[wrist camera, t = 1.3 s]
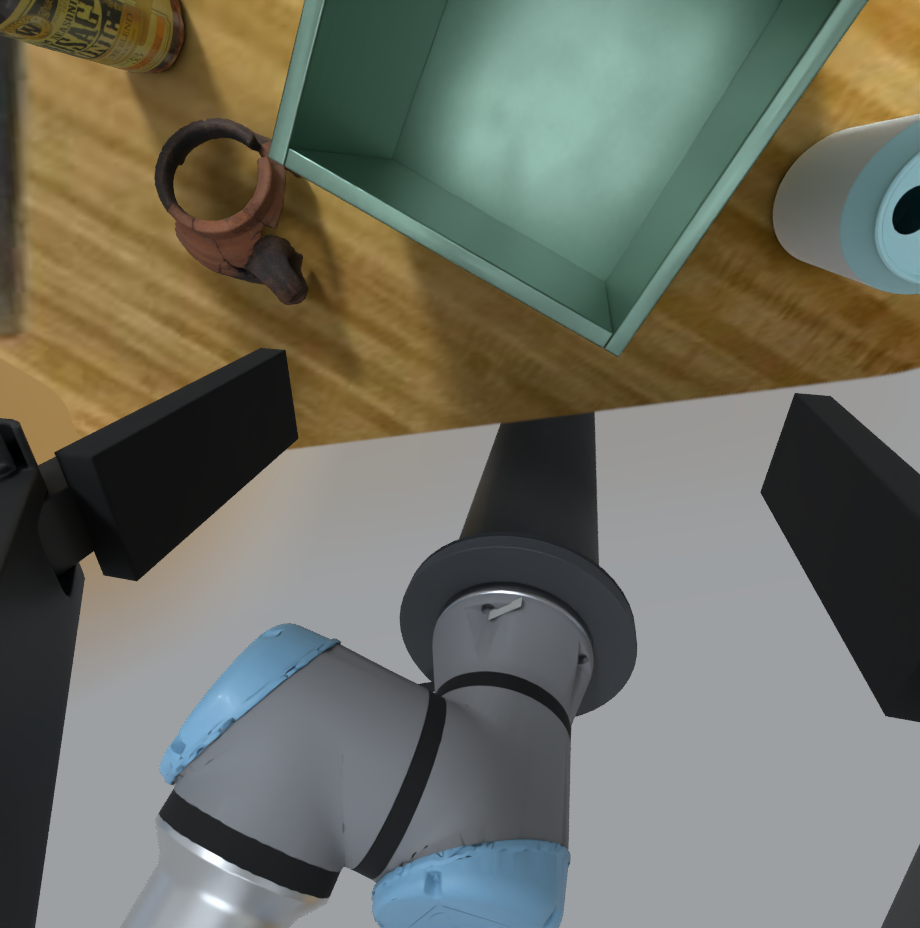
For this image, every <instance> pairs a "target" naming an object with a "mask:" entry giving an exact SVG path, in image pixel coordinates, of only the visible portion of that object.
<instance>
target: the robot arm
mask: <svg viewBox="0 0 920 928" xmlns="http://www.w3.org/2000/svg"><path fill="white" fill-rule="evenodd" d="M297 439H298V433H297V426H296V419H295V412H294V405H293V398H292V391H291V385H290V378H289V371H288V364H287V357H286V350H278V349H266V348H260V349H258V350H256V351H254V352H252V353H250V354H248V355H246V356H244V357H242V358H240V359H238V360H236V361H234V362H232V363H230V364H228V365H226V366H224V367H222V368H220V369H218V370H216V371H214V372H212V373H210V374H208V375H206V376H204V377H202V378H200V379H198V380H196V381H195V382H193V383H191V384H189V385H187V386H185V387H183V388H181V389H179V390H177V391H175V392H173V393H171V394H169V395H167V396H165V397H163V398H161V399H159V400H157V401H155V402H153V403H151V404H149V405H147V406H145V407H143V408H141V409H139V410H137V411H135V412H133V413H131V414H129V415H127V416H125V417H123V418H121V419H119V420H117V421H115V422H113V423H111V424H110V425H108V426H106V427H104V428H102V429H100V430H98V431H96V432H94V433H92V434H90V435H88V436H86V437H84V438H82V439H80V440H78V441H76V442H74V443H72V444H70V445H68V446H66V447H64V448H62V449H60V450H58V451H56V452H55V455H56V457H54V458H52V459H50V460H48V461H46V462H44V463H42V464H40V465H37V463H36V460H35V458H34V456H33V453H32V451H31V449H30V446H29V444H28V441H27V439H26V437H25V434H24V432H23V430H22V427H21V425H20V423H19V422H18V421H15V420H13V419H2V418H0V928H35V923H36V916H37V909H38V902H39V895H40V888H41V881H42V874H43V866H44V860H45V853H46V846H47V839H48V832H49V825H50V818H51V811H52V804H53V797H54V790H55V783H56V776H57V769H58V762H59V755H60V748H61V741H62V734H63V727H64V720H65V713H66V706H67V699H68V692H69V685H70V678H71V671H72V664H73V657H74V650H75V642H76V636H77V628H78V622H79V615H80V607H81V601H82V594H83V587H84V580H85V577H84V574H83V571H82V569H81V566H80V564H79V562H80V561H81V560H82V559H83V558H85V557H86V556H87V555H89V554H90V553H92V552H93V551H94V552H95V555H96V557H97V560H98V562H99V565H100V567H101V570H102V572H103V575H105V576H111V577H116V578H122V579H128V580H133V581H138V580H139V579H140V578H141V577H142V576H143V575H145V574H146V573H147V572H148V571H149V570H150V569H151V568H152V567H154V566H155V565H156V564H157V563H158V562H159V561H160V560H161V559H163V558H164V557H165V556H166V555H167V554H168V553H169V552H171V551H172V550H173V549H174V548H175V547H176V546H177V545H179V544H180V543H181V542H182V541H183V540H184V539H185V538H186V537H188V536H189V535H190V534H191V533H192V532H193V531H194V530H195V529H197V528H198V527H199V526H200V525H201V524H202V523H203V522H204V521H206V520H207V519H208V518H209V517H210V516H211V515H212V514H214V513H215V512H216V511H217V510H218V509H219V508H220V507H221V506H223V505H224V504H225V503H226V502H227V501H228V500H229V499H230V498H232V497H233V496H234V495H235V494H236V493H237V492H238V491H239V490H241V489H242V488H243V487H244V486H245V485H246V484H247V483H249V482H250V481H251V480H252V479H253V478H254V477H255V476H256V475H258V474H259V473H260V472H261V471H262V470H263V469H264V468H266V467H267V466H268V465H269V464H270V463H271V462H272V461H273V460H274V459H276V458H277V457H278V456H279V455H280V454H281V453H282V452H284V451H285V450H286V449H287V448H288V447H289V446H290V445H292V444H293V443H294V442H295V441H296V440H297ZM761 494H762V496H763V498H764V500H765V501H766V503H767V505H768V507H769V509H770V510H771V512H772V513H773V515H774V517H775V519H776V521H777V523H778V525H779V526H780V528H781V530H782V532H783V534H784V535H785V537H786V539H787V541H788V542H789V544H790V546H791V548H792V550H793V551H794V553H795V555H796V557H797V559H798V560H799V562H800V564H801V565H802V568H803V569H804V571H805V573H806V575H807V576H808V578H809V580H810V582H811V583H812V585H813V587H814V589H815V591H816V593H817V594H818V596H819V598H820V600H821V601H822V603H823V605H824V607H825V609H826V610H827V612H828V614H829V616H830V618H831V619H832V621H833V623H834V625H835V626H836V628H837V630H838V632H839V634H840V635H841V637H842V639H843V641H844V642H845V644H846V646H847V648H848V650H849V652H850V653H851V655H852V657H853V658H854V660H855V662H856V664H857V666H858V668H859V669H860V671H861V673H862V674H863V677H864V678H865V680H866V682H867V683H868V685H869V687H870V689H871V691H872V692H873V694H874V696H875V698H876V699H877V702H878V703H879V705H880V707H881V709H882V711H883V712H884V714H885V716H888V717H894V718H899V719H905V720H911V721H916V722H920V474H919V473H918V472H916V471H915V470H914V469H913V468H912V467H911V466H910V465H908V464H907V463H906V462H905V461H904V460H903V459H902V458H901V457H899V456H898V455H897V454H896V453H895V452H894V451H892V450H891V449H890V448H889V447H888V446H887V445H885V443H883V442H882V441H881V440H880V439H879V438H877V436H875V435H874V434H873V433H872V432H871V431H870V430H869V429H867V428H866V427H865V426H864V425H863V424H862V423H860V422H859V421H858V420H857V419H856V418H855V417H854V416H853V415H851V414H850V413H849V412H848V411H847V410H846V409H845V408H844V407H842V406H841V405H840V404H839V403H838V402H837V401H835V400H834V399H833V398H832V397H831V396H823V395H811V394H798V393H795V395H794V397H793V400H792V403H791V406H790V409H789V411H788V414H787V418H786V420H785V423H784V426H783V429H782V432H781V435H780V437H779V441H778V443H777V446H776V449H775V452H774V455H773V458H772V460H771V463H770V466H769V469H768V472H767V475H766V478H765V481H764V484H763V486H762V489H761ZM340 643H341V642H340V641H339V640H337V639H329V638H326V637H324V636H321V635H320V634H317V633H315V632H313V631H310V630H308V629H306V628H304V627H301V626H299V625H296V624H291V623H288V624H281V625H277V626H275V627H273V628H271V629H269V630H267V631H266V632H264V633H263V634H262V635H260V636H259V637H258V638H257V639H256V640H255V641H253V642H252V643H251V644H250V645H249V646H248V647H247V648H246V649H245V650H244V651H243V652H242V653H241V654H240V655H239V656H238V657H237V658H236V659H235V660H234V662H233V663H232V664H231V665H230V666H229V667H228V669H226V671H225V672H224V673H223V674H222V675H221V676H220V677H219V679H218V680H217V681H216V682H215V683H214V685H213V686H212V687H211V688H210V689H209V691H208V692H207V693H206V695H205V696H204V697H203V699H202V700H201V701H200V702H199V703H198V705H197V706H196V707H195V709H194V710H193V711H192V713H191V714H190V716H189V717H188V718H187V720H186V721H185V723H184V724H183V725H182V727H181V729H180V731H179V734H178V735H177V736H176V738H175V739H174V741H173V742H172V744H171V745H170V746H169V747H168V749H167V750H166V752H165V754H164V756H163V758H162V760H161V763H160V768H159V769H160V773H161V774H162V776H163V777H164V778H165V782H166V783H168V784H170V785H174V784H175V783H176V785H175V787H174V789H173V791H172V793H171V794H170V796H169V797H168V799H167V801H166V802H165V804H164V806H163V807H162V809H161V810H160V812H159V814H158V815H157V817H156V819H155V821H156V829H157V836H158V843H159V852H160V853H159V861H158V865H157V866H156V868H155V870H154V871H153V873H152V875H151V876H150V878H149V880H148V882H147V883H146V885H145V886H144V888H143V890H142V892H141V893H140V895H139V896H138V898H137V900H136V902H135V904H134V905H133V907H132V908H131V910H130V912H129V913H128V915H127V917H126V918H125V920H124V922H123V923H122V925H121V927H120V928H289V927H290V926H291V925H292V924H293V923H294V922H295V921H296V920H297V919H298V918H300V917H302V916H304V915H306V914H308V913H310V912H311V911H314V910H316V909H318V908H320V907H321V906H323V905H325V904H326V903H327V902H328V899H329V897H330V895H331V892H332V890H333V888H334V885H335V883H336V881H337V878H338V876H339V874H340V871H341V869H342V868H343V867H347V868H350V869H351V870H354V871H356V872H358V873H360V874H362V875H364V876H366V877H368V878H370V879H372V880H373V881H375V882H376V884H375V886H374V888H373V891H372V900H373V905H372V907H373V908H372V912H373V916H374V918H375V921H376V922H377V923H378V925H379V926H380V927H381V928H559V926H560V923H561V921H562V916H563V911H564V901H565V891H566V882H567V872H568V867H569V864H570V852H569V851H568V841H569V796H570V793H569V792H570V750H571V747H570V745H571V744H570V743H571V725H572V722H573V719H574V718H575V715H576V713H577V710H578V708H579V706H580V703H581V701H582V699H583V696H584V694H585V692H586V689H587V687H588V684H589V682H590V679H591V675H592V671H593V665H594V648H593V640H592V636H591V634H590V631H589V629H588V627H587V625H586V624H585V622H584V620H583V619H582V618H581V617H580V615H579V614H578V613H577V612H576V611H575V610H574V609H573V608H572V607H571V606H569V605H568V604H567V603H566V602H564V601H563V600H561V599H560V598H558V597H556V596H555V595H553V594H551V593H549V592H547V591H544V590H542V589H539V588H536V587H533V586H530V585H526V584H521V583H515V582H489V583H482V584H478V585H474V586H472V587H469V588H467V589H464V590H462V591H461V592H459V593H457V594H456V595H454V596H453V597H452V598H451V599H450V600H449V601H448V602H447V603H446V604H445V605H444V607H443V608H442V610H441V612H440V614H439V617H438V620H437V623H436V626H435V629H434V633H433V643H432V649H433V667H434V682H429V683H422V684H416V683H414V682H412V681H410V680H408V679H406V678H404V677H402V676H400V675H398V674H396V673H394V672H392V671H390V670H388V669H386V668H384V667H382V666H381V665H378V664H377V663H375V662H373V661H371V660H369V659H367V658H365V657H363V656H361V655H359V654H357V653H356V652H354V651H352V650H350V649H348V648H346V647H344V646H342V645H340ZM433 692H435V693H433ZM881 928H920V845H919V847H918V849H917V852H916V853H915V856H914V858H913V860H912V862H911V864H910V866H909V869H908V871H907V873H906V875H905V877H904V879H903V882H902V884H901V886H900V888H899V890H898V892H897V894H896V897H895V899H894V901H893V903H892V905H891V908H890V910H889V912H888V914H887V916H886V918H885V920H884V923H883V925H882V927H881Z"/></svg>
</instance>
